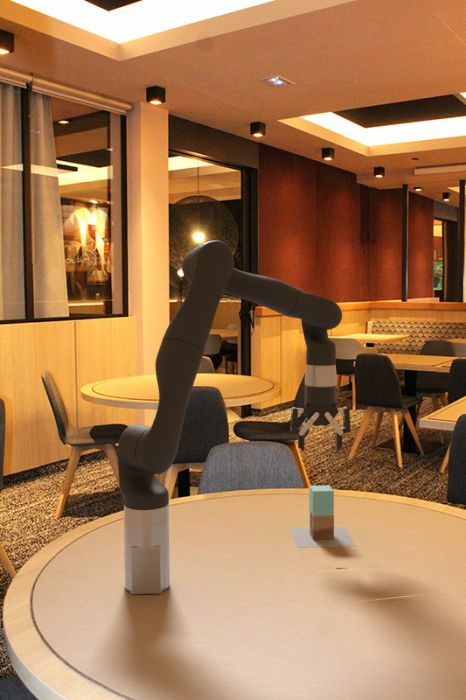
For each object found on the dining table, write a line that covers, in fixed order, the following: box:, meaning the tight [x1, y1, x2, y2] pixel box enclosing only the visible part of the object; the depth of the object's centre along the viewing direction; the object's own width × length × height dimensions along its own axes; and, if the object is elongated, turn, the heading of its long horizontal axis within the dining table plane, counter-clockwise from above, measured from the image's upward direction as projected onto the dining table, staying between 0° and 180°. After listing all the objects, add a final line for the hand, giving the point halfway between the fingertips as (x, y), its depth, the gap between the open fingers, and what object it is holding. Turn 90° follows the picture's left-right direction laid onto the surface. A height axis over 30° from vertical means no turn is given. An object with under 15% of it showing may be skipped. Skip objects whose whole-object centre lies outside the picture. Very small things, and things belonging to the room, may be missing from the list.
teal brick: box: [308, 485, 335, 516], centre depth 173 cm, size 5×5×6 cm
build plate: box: [289, 526, 357, 549], centre depth 174 cm, size 14×14×1 cm
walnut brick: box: [309, 511, 335, 540], centre depth 173 cm, size 5×5×6 cm
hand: (320, 450), depth 171 cm, fingers open, 8 cm apart
